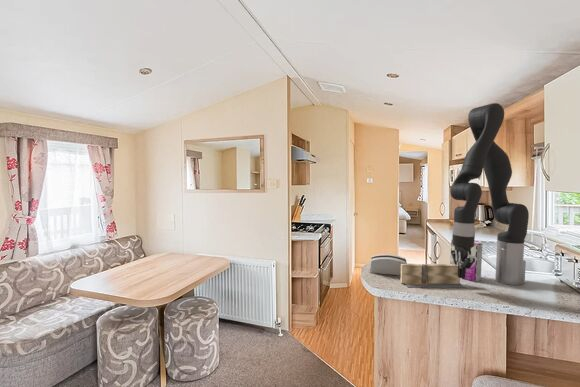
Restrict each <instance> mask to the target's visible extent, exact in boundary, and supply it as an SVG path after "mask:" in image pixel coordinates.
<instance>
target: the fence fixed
mask: <svg viewBox="0 0 580 387" xmlns="http://www.w3.org/2000/svg"><path fill="white" fill-rule="evenodd" d="M426 281H427V264H425V263H422V264H421V263H407V264H401V280H400V283H401V284H404V283H422V284H426Z"/></svg>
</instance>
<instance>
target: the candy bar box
mask: <svg viewBox="0 0 580 387" xmlns="http://www.w3.org/2000/svg"><path fill="white" fill-rule="evenodd" d="M451 250H455V246H454V245H453V244H452V239H451V240H450V251H451ZM471 257H472V258H475V262H474V263H473V264H472V266H471V267H470V269H466V273H465V278H462V279H464V280H467V281H470V282H474V283H477V282H480V281H481V279H482V262H483V258H482V257H483V242H479V241H474V247H472V248H471ZM449 264H454V260H453V257H452V254H451V253H450V263H449Z"/></svg>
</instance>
